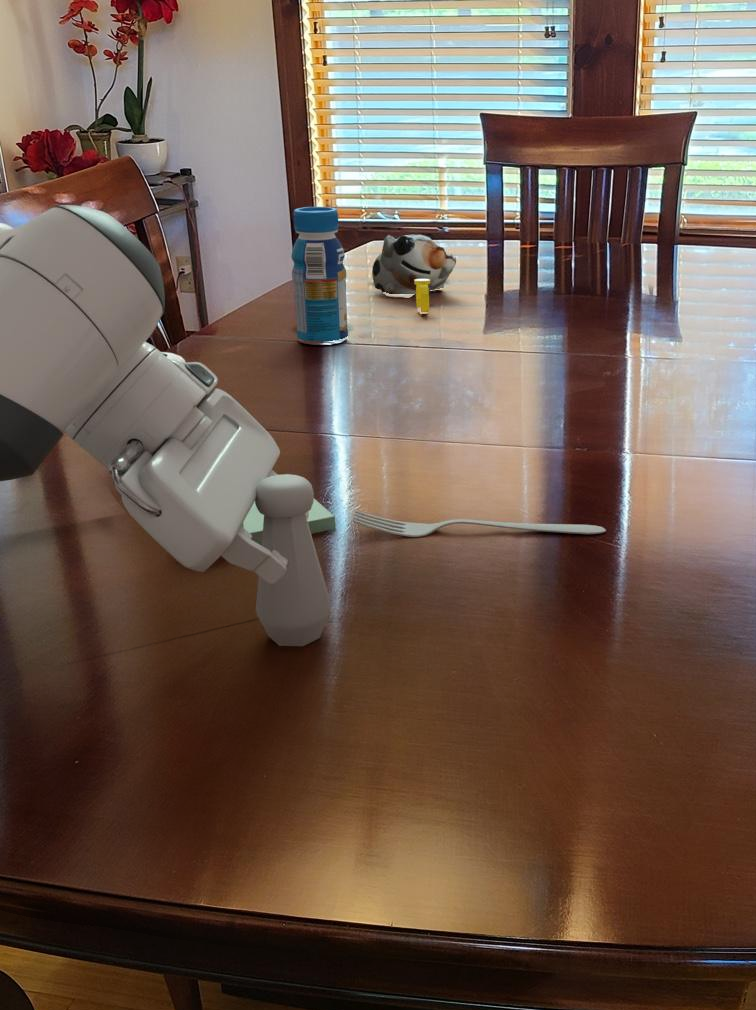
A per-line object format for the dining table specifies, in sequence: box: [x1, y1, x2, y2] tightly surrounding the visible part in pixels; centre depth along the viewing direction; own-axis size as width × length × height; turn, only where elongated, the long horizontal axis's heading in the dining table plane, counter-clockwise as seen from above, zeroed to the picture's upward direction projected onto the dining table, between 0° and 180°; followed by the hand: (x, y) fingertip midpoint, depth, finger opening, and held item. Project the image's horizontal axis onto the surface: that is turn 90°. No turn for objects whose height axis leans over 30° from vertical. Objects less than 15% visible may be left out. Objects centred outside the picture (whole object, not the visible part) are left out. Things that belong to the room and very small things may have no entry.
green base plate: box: [241, 498, 336, 545], centre depth 105 cm, size 14×12×3 cm
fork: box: [351, 510, 607, 538], centre depth 103 cm, size 3×24×2 cm, turn 91°
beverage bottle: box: [290, 206, 349, 341], centre depth 168 cm, size 8×8×20 cm
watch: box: [414, 279, 430, 313], centre depth 189 cm, size 6×3×6 cm, turn 11°
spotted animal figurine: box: [371, 233, 457, 294], centre depth 202 cm, size 15×12×14 cm
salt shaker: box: [255, 473, 332, 647], centre depth 82 cm, size 6×6×13 cm
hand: (293, 548), depth 81 cm, fingers open, 8 cm apart
